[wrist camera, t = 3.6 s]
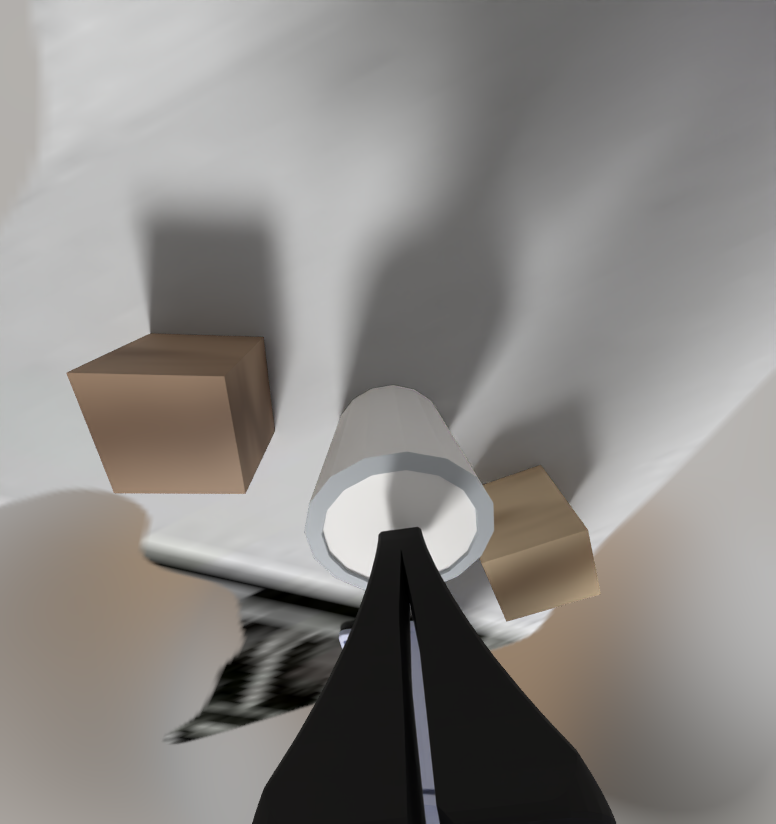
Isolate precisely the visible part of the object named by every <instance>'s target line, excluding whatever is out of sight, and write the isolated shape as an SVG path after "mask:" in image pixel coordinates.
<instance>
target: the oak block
mask: <svg viewBox="0 0 776 824" xmlns="http://www.w3.org/2000/svg"><path fill="white" fill-rule="evenodd" d="M483 487H484V488H485V490H486V492H487V493H488V495H489V497H490V498H491V500H492V502H493V508H494V532H493V534H492V536H491V538H490V540H489V542H488V544H487V546H486V548H485V550H484V552H483V554H482V556H481V557H480V560H481V563H482V566H483V568H484V570H485V573H486V575H487V577H488V580H489V582H490V584H491V587H492V589H493V591H494V594H495V596H496V598H497V601H498V603H499V605H500V608H501V610H502V612H503V614H504V617H505V619H506V621H510V620H514V619H517V618H521V617H524V616H528V615H531V614H535V613H538V612H541V611H545V610H548V609H552V608H555V607H559V606H562V605H566V604H569V603H572V602H576V601H579V600H583V599H586V598H590V597H593V596H597V595H600V594H601V592H600V588H599V583H598V578H597V573H596V568H595V563H594V558H593V553H592V548H591V543H590V538H589V533H588V529H587V528H586V527H585V525H584V524H583V522H582V521H581V520H580V518H579V517H578V516H577V514H576V513H575V511H574V510H573V509H572V507H571V506H570V505H569V503H568V502H567V500H566V499H565V498H564V496H563V495H562V494H561V492H560V491H559V490H558V488H557V487H556V485H555V484H554V483H553V481H552V480H551V479H550V477H549V476H548V474H547V473H546V472H545V470H544V469H543V468H542V466H541V465H539V466H536V467H533V468H530V469H527V470H524V471H522V472H519V473H516V474H513V475H510V476H507V477H504V478H501V479H498V480H496V481H493V482H490V483H487V484H484V485H483Z"/></svg>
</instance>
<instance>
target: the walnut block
mask: <svg viewBox="0 0 776 824" xmlns="http://www.w3.org/2000/svg"><path fill="white" fill-rule="evenodd" d="M67 376H68V378H69V381H70V383H71V386H72V388H73V391H74V393H75V396H76V398H77V401H78V403H79V406H80V408H81V411H82V413H83V416H84V418H85V421H86V423H87V426H88V428H89V431H90V433H91V436H92V438H93V441H94V444H95V446H96V449H97V451H98V454H99V456H100V459H101V461H102V464H103V466H104V469H105V471H106V474H107V476H108V479H109V481H110V484H111V486H112V489H113V491H114V493H187V494H246V491H247V489H248V487H249V485H250V483H251V481H252V479H253V477H254V474H255V472H256V470H257V468H258V466H259V464H260V462H261V460H262V457H263V455H264V453H265V451H266V449H267V447H268V445H269V443H270V440H271V438H272V436H273V434H274V432H275V428H274V420H273V411H272V403H271V394H270V386H269V378H268V369H267V361H266V352H265V344H264V337H249V336H216V335H184V334H151V333H150V334H148V335H146V336H144V337H142V338H139V339H137V340H135V341H133V342H131V343H129V344H127V345H125V346H122V347H120V348H118V349H116V350H114V351H112V352H110V353H107V354H105V355H103V356H101V357H99V358H97V359H95V360H93V361H90V362H88V363H86V364H84V365H82V366H80V367H78V368H76V369H73V370H71V371H69V372H67Z"/></svg>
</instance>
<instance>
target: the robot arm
mask: <svg viewBox="0 0 776 824" xmlns="http://www.w3.org/2000/svg"><path fill="white" fill-rule="evenodd" d="M410 606H411V611H412V616H413V621H410ZM339 640H340V643H341V646H342V649H343V650H342V652H341V654H340V656H339V658H338V660H337V662H336V664H335V667H334V669H333V671H332V673H331V675H330V677H329V679H328V681H327V683H326V685H325V687H324V689H323V690H322V692H321V694H320V696H319V698H318V700H317V701H316V703H315V705H314V707H313V708H312V710H311V712H310V714H309V716H308V717H307V719H306V721H305V723H304V724H303V726H302V728H301V730H300V732H299V733H298V735H297V737H296V738H295V740H294V741H293V743H292V745H291V746H290V748H289V749H288V751H287V753H286V754H285V756H284V757H283V759H282V760H281V762H280V764H279V765H278V767H277V768H276V770H275V771H274V773H273V775H272V777H271V778H270V779H269V781H268V783H267V784H266V786H265V788H264V790H263V793H262V795H261V798H260V801H259V804H258V807H257V810H256V813H255V816H254V819H253V822H252V824H616V821H615V818H614V816H613V814H612V811H611V809H610V807H609V805H608V803H607V801H606V799H605V797H604V795H603V793H602V791H601V789H600V788H599V786H598V784H597V782H596V781H595V779H594V777H593V776H592V774H591V772H590V771H589V769H588V767H587V766H586V764H585V763H584V761H583V759H582V758H581V756H580V755H579V753H578V752H577V750H576V749H575V748H574V747H573V746H572V745H571V744H570V743H569V742H568V741H567V740H566V739H565V737H564V736H563V735H562V734H561V733H560V732H559V731H558V730H557V729H556V728H555V727H554V726H553V725H552V724H551V723H550V722H549V720H548V719H547V718H546V717H545V716H544V715H543V714H542V713H541V712H540V711H539V709H538V708H537V707H536V706H535V705H534V704H533V703H532V701H531V700H530V699H529V698H528V697H527V696H526V695H525V694H524V692H523V691H522V690H521V689H520V688H519V686H518V685H517V684H516V683H515V681H514V680H513V679H512V678H511V677H510V675H509V674H508V673H507V672H506V670H505V669H504V668H503V667H502V666H501V664H500V663H499V662H498V661H497V659H496V658H495V657H494V656H493V654H492V653H491V652H490V650H489V649H488V648H487V646H486V645H485V644H484V642H483V641H482V640H481V638H480V637H479V635H478V634H477V633H476V631H475V630H474V628H473V627H472V625H471V624H470V623H469V621H468V620H467V618H466V617H465V615H464V614H463V612H462V610H461V609H460V607H459V606H458V604H457V602H456V601H455V599H454V598H453V596H452V594H451V593H450V591H449V589H448V588H447V586H446V584H445V582H444V580H443V578H442V577H441V575H440V573H439V571H438V569H437V567H436V565H435V563H434V561H433V559H432V557H431V555H430V553H429V550H428V548H427V546H426V543H425V540H424V537H423V534H422V530H421V529H420V528H419V527H412V528H404V529H396V530H389V531H381V532H380V533H379V535H378V543H377V549H376V554H375V559H374V563H373V567H372V570H371V574H370V577H369V580H368V584H367V587H366V591H365V594H364V597H363V599H362V602H361V605H360V608H359V610H358V613H357V616H356V619H355V621H354V624H353V626H352V629H344V630H342V631H340V633H339Z"/></svg>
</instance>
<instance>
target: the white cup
mask: <svg viewBox="0 0 776 824" xmlns="http://www.w3.org/2000/svg"><path fill="white" fill-rule="evenodd" d="M412 527H419V528H420V529H421V530H422V534H423V537H424V540H425V543H426V546H427V548H428V550H429V553H430V555H431V557H432V559H433V561H434V563H435V565H436V567H437V569H438V571H439V573H440V575H441V577H442V578H443V580H444V582H446V581H448V580H450V579H453V578H455V577H457V576H459V575H460V574H461V573H462V572H464V571H465V570H466V569H467V568H468V567H469V566H470V565H472V564H473V563H474V562H475V561H476V560H477V559H478V558H480V557H481V556H482V554H483V552H484V550H485V548H486V546H487V544H488V542H489V540H490V538H491V536H492V534H493V532H494V508H493V502H492V500H491V498H490V497H489V495H488V493H487V492H486V490H485V488H484V487H483V485H482V483H481V482H480V480H479V478H478V477H477V475H476V473H475V472H474V470H473V469H472V467H471V465H470V464H469V462H468V460H467V459H466V457H465V455H464V454H463V452H462V450H461V449H460V447H459V445H458V444H457V442H456V440H455V439H454V437H453V435H452V434H451V432H450V431H449V429H448V427H447V426H446V424H445V422H444V421H443V419H442V417H441V416H440V414H439V412H438V411H437V409H436V408H435V406H434V404H433V403H432V401H431V400H429V399H428V398H426V397H425V396H423V395H422V394H420V393H419V392H417V391H416V390H414V389H410V388H405V387H400V386H395V385H390V386H384V387H378V388H372V389H370V390H368V391H366V392H365V393H363V394H361V395H360V396H358V397H356V398H355V399H353V400H352V401H351V403H350V404H349V405H348V407H347V408H346V410H345V411H344V412H343V414H342V415H341V417H340V420H339V423H338V426H337V428H336V431H335V434H334V437H333V439H332V442H331V445H330V448H329V450H328V453H327V456H326V459H325V462H324V464H323V467H322V470H321V473H320V475H319V478H318V481H317V484H316V486H315V489H314V492H313V495H312V498H311V500H310V503H309V508H308V514H307V520H306V525H305V531H304V533H305V535H306V538H307V541H308V543H309V546H310V549H311V551H312V554H313V557H314V558H315V559H316V560H317V561H318V562H319V563H320V564H321V565H322V566H323V567H324V568H325V569H326V570H327V571H328V572H329V573H330V574H332V575H333V576H334V577H335V578H337V579H339V580H341V581H344V582H346V583H349V584H351V585H353V586H356V587H358V588H360V589H363V590H366V587H367V584H368V580H369V577H370V574H371V570H372V567H373V563H374V559H375V554H376V549H377V543H378V535H379V533H380V532H381V531H389V530H396V529H404V528H412Z"/></svg>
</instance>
